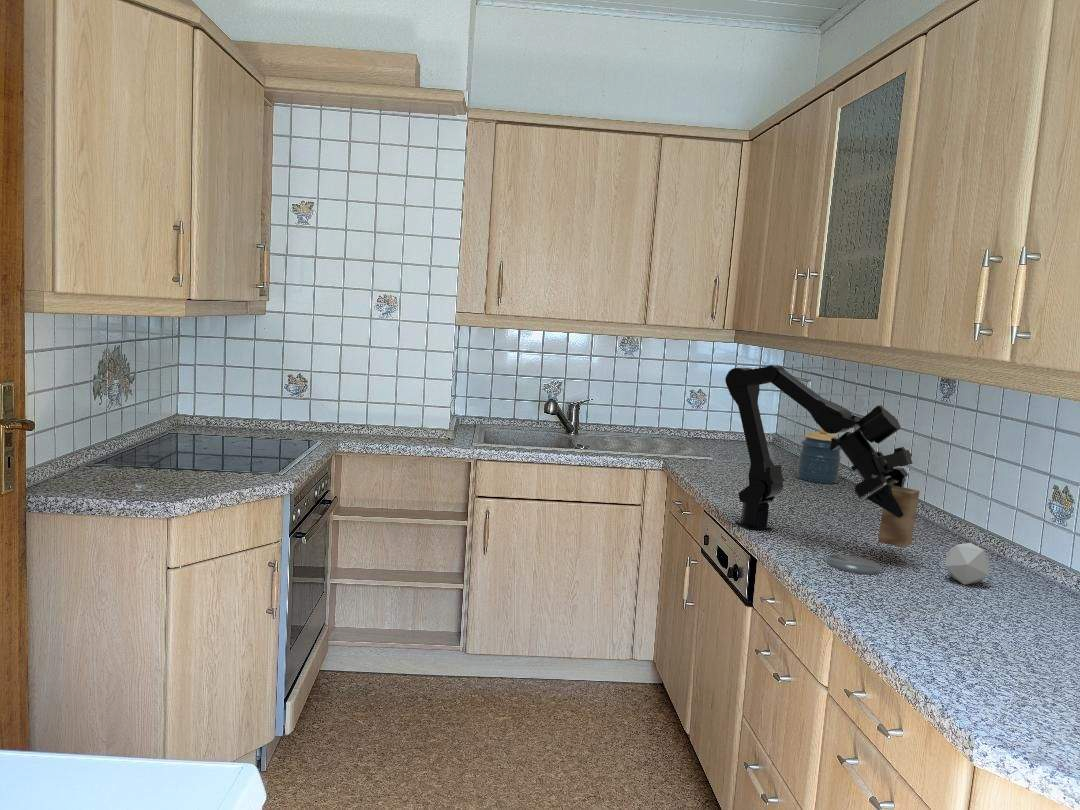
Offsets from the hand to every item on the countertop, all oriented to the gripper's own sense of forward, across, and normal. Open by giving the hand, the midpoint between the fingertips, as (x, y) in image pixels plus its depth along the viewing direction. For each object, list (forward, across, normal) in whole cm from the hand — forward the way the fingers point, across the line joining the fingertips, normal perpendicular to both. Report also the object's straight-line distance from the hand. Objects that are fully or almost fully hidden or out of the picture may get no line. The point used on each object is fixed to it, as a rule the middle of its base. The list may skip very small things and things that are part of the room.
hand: (905, 514), depth 190 cm
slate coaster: (+4, -12, +12) cm, 17 cm away
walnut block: (+4, 0, +6) cm, 7 cm away
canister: (-28, +81, +44) cm, 97 cm away
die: (+18, -1, -2) cm, 18 cm away
